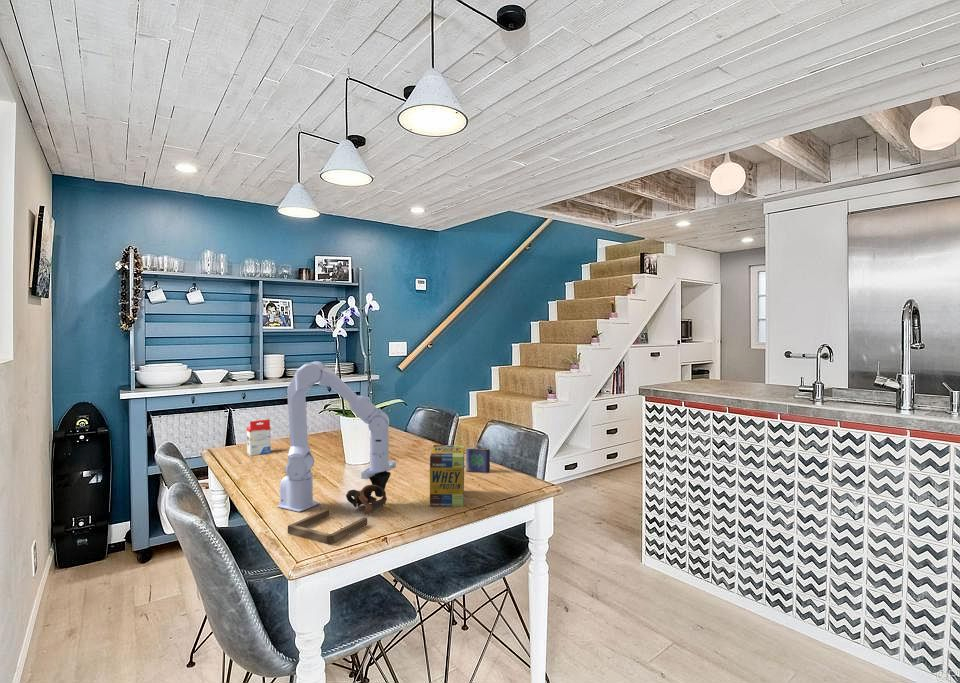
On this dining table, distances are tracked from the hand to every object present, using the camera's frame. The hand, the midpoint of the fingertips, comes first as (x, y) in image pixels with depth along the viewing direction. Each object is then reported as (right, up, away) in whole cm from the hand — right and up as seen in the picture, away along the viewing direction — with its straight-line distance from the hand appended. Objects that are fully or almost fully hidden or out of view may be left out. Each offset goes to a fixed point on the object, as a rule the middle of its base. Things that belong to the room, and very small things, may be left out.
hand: (379, 496), depth 153 cm
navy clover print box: (+30, -2, +35) cm, 47 cm away
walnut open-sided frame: (-10, -3, -19) cm, 22 cm away
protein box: (+21, -3, +6) cm, 22 cm away
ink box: (-64, -1, +61) cm, 89 cm away
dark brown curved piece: (-3, -3, -5) cm, 6 cm away
